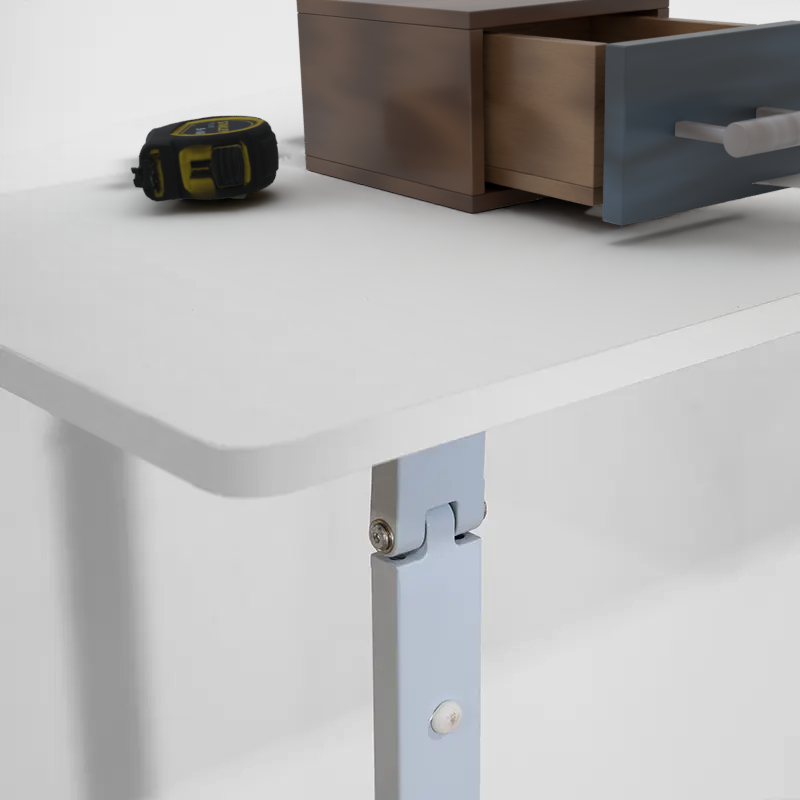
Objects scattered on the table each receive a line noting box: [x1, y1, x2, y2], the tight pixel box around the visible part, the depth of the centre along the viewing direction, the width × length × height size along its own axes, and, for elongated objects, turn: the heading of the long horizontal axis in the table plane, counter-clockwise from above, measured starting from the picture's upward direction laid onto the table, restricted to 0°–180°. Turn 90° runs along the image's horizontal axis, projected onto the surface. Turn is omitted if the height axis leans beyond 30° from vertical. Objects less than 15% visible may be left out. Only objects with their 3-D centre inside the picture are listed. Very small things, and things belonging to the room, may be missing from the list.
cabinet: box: [295, 0, 670, 214], centre depth 72 cm, size 15×13×9 cm
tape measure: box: [130, 115, 280, 203], centre depth 69 cm, size 7×7×4 cm
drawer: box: [482, 14, 800, 227], centre depth 63 cm, size 18×11×7 cm, turn 36°
